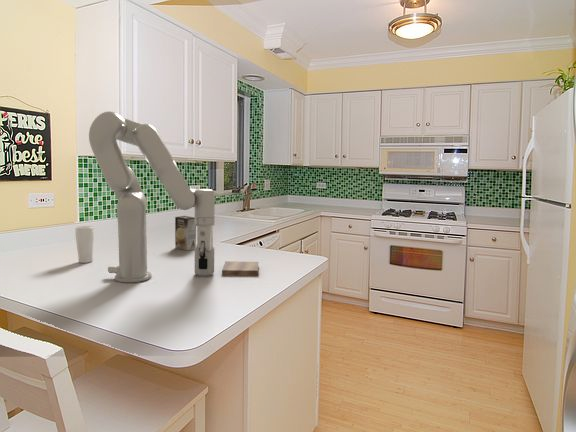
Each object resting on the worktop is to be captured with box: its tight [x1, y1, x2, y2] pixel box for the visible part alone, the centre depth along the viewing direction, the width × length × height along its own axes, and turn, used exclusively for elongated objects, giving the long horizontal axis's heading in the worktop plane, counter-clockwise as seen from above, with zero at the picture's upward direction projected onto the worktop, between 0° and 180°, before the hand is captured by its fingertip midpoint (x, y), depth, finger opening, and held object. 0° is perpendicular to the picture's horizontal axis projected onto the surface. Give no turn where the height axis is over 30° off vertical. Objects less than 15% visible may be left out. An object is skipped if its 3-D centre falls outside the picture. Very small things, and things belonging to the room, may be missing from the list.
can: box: [194, 243, 215, 277], centre depth 150 cm, size 8×8×12 cm
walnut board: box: [221, 260, 259, 277], centre depth 157 cm, size 14×14×2 cm
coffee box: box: [174, 215, 197, 251], centre depth 195 cm, size 9×6×16 cm
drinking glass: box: [75, 225, 95, 264], centre depth 162 cm, size 7×7×15 cm
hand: (204, 265), depth 150 cm, fingers closed on can, 7 cm apart
